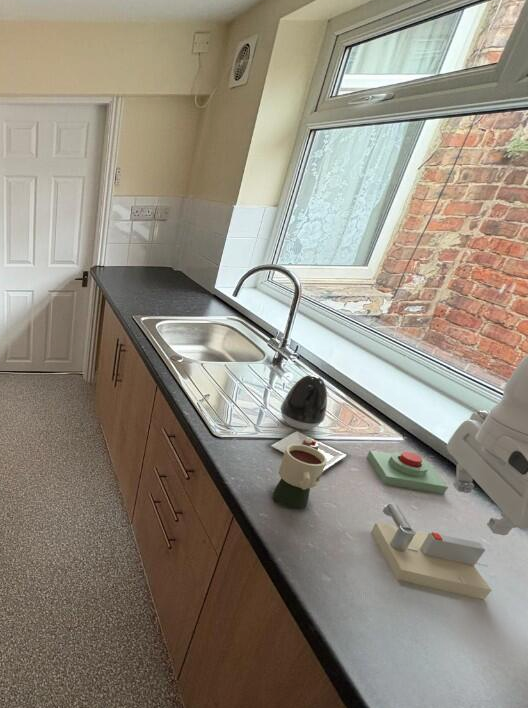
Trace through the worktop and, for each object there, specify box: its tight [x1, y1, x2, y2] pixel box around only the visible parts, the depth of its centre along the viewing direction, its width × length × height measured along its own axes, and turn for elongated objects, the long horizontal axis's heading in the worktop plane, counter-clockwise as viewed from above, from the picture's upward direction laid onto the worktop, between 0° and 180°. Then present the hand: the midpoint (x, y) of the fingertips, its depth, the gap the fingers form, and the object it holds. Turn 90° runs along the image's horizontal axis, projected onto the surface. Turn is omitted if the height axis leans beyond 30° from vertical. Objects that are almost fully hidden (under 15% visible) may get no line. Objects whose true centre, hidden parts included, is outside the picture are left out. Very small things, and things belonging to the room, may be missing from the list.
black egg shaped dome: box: [280, 374, 328, 431], centre depth 112 cm, size 10×10×15 cm
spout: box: [382, 503, 417, 551], centre depth 77 cm, size 2×8×5 cm, turn 161°
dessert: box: [270, 430, 347, 471], centre depth 103 cm, size 12×12×5 cm
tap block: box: [371, 522, 492, 600], centre depth 74 cm, size 14×11×4 cm
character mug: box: [272, 444, 327, 510], centre depth 87 cm, size 11×7×13 cm, turn 157°
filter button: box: [399, 451, 423, 467], centre depth 95 cm, size 4×4×2 cm
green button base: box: [366, 449, 449, 495], centre depth 96 cm, size 11×10×4 cm
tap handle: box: [420, 531, 486, 567], centre depth 72 cm, size 7×2×4 cm, turn 71°
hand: (477, 509), depth 68 cm, fingers open, 8 cm apart
